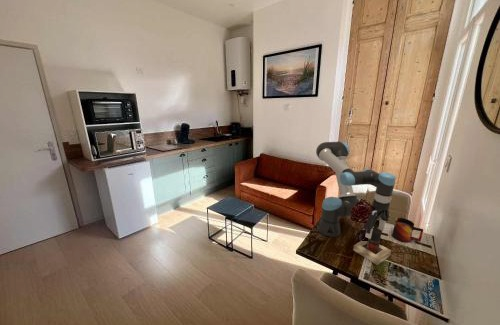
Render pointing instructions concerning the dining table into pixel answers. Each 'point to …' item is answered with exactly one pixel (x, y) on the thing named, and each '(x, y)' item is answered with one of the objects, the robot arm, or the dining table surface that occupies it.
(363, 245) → the socket block
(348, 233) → the dining table surface
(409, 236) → the mug
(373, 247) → the deodorant
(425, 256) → the dining table surface
